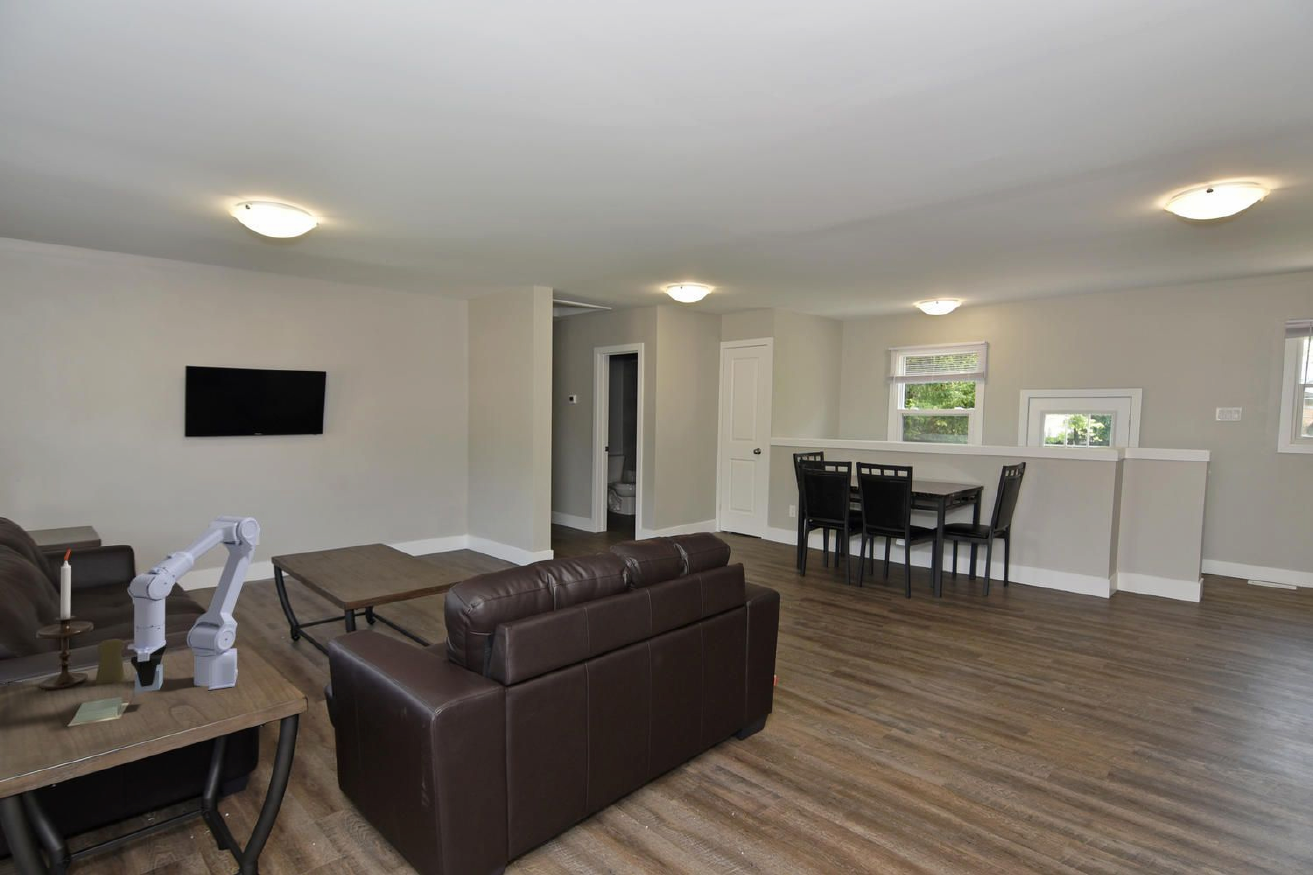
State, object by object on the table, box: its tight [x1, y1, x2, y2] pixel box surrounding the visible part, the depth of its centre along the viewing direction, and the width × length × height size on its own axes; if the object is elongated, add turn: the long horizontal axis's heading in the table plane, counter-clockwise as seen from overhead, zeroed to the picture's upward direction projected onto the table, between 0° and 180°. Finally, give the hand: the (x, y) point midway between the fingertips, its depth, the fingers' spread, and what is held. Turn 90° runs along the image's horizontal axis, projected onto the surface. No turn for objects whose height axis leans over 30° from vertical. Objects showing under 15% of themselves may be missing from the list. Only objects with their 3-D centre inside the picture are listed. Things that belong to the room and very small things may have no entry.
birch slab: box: [67, 702, 130, 727], centre depth 148 cm, size 9×9×2 cm
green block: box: [75, 696, 123, 723], centre depth 148 cm, size 7×7×2 cm
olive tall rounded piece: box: [94, 638, 126, 687], centre depth 168 cm, size 6×6×11 cm
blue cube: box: [134, 663, 164, 694], centre depth 152 cm, size 4×4×4 cm
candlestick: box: [35, 548, 94, 691], centre depth 167 cm, size 11×11×35 cm
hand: (149, 681), depth 152 cm, fingers closed on blue cube, 4 cm apart
